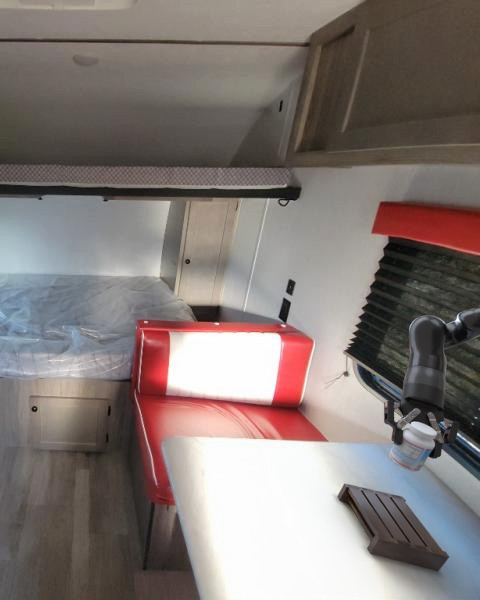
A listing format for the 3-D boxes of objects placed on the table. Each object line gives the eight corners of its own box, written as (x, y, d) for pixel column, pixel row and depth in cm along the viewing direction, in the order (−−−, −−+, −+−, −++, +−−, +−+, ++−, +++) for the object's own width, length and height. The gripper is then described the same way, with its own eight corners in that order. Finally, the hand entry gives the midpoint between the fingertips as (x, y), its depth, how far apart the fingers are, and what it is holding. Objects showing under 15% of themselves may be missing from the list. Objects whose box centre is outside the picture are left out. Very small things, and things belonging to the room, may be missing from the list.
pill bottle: (407, 455, 87) (428, 421, 83) (425, 475, 81) (448, 439, 77) (382, 450, 88) (401, 417, 84) (398, 469, 82) (419, 434, 78)
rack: (394, 509, 89) (402, 496, 87) (438, 571, 75) (449, 556, 73) (337, 496, 91) (344, 483, 89) (369, 553, 77) (379, 539, 75)
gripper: (395, 373, 87) (384, 435, 82) (471, 396, 80) (465, 465, 75) (382, 381, 93) (371, 439, 88) (452, 402, 86) (445, 466, 81)
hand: (415, 450), depth 81 cm, fingers closed on pill bottle, 6 cm apart
